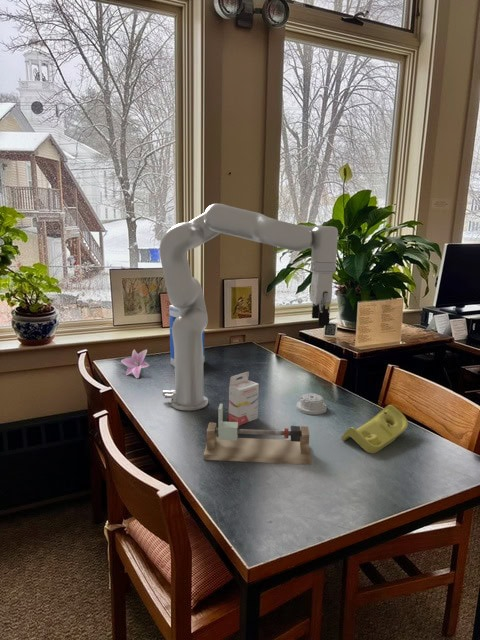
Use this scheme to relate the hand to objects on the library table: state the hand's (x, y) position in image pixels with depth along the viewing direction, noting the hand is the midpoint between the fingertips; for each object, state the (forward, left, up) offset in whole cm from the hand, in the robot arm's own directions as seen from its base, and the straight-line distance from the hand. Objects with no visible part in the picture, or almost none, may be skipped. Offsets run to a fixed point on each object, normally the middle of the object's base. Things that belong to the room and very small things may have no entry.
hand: (320, 321), depth 147 cm
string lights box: (-50, +44, -30) cm, 73 cm away
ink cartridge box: (-23, -9, -30) cm, 39 cm away
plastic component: (+16, -18, -31) cm, 39 cm away
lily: (-68, +29, -31) cm, 80 cm away
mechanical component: (-1, +2, -31) cm, 31 cm away
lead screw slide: (-18, -29, -30) cm, 45 cm away
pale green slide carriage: (-26, -29, -26) cm, 47 cm away
